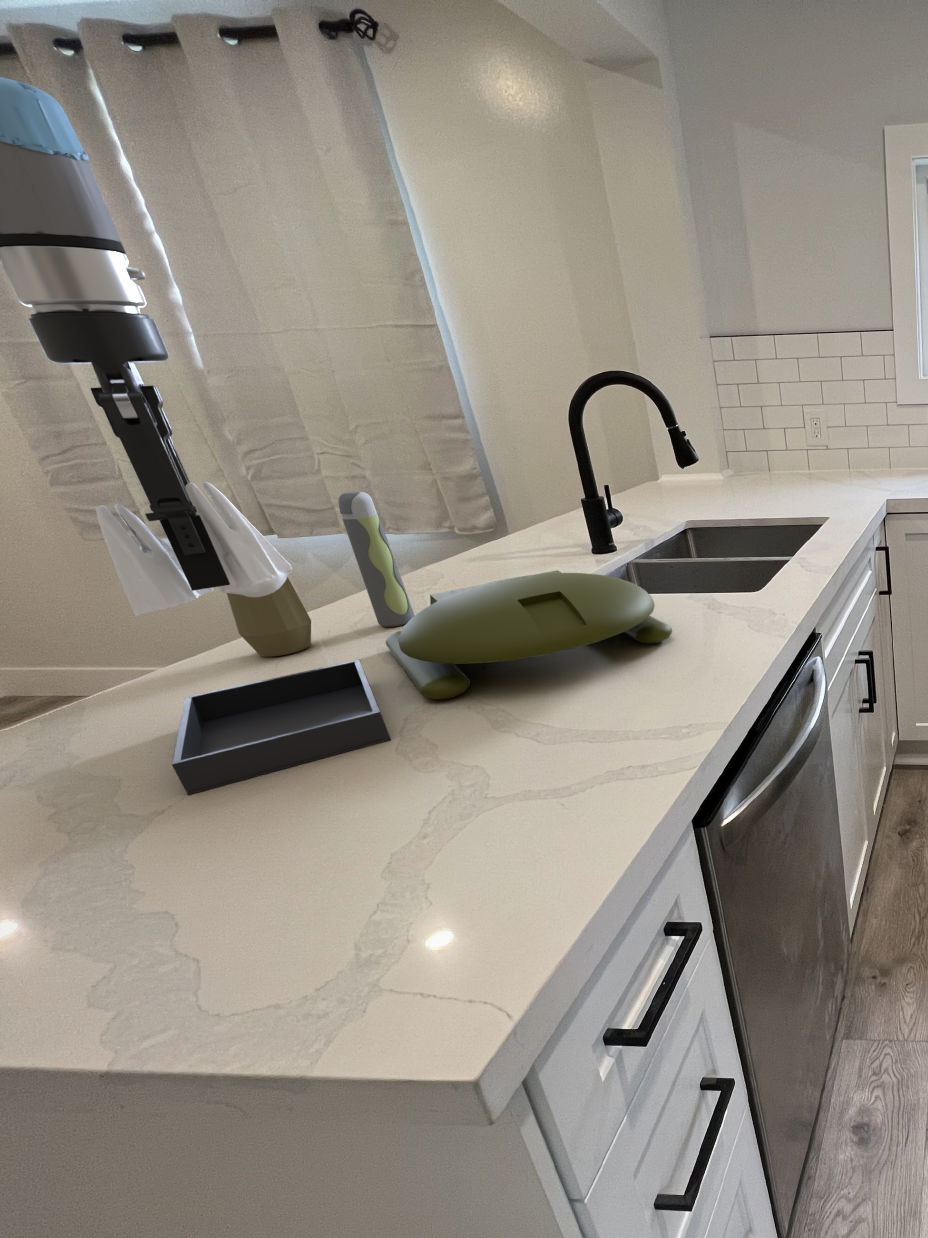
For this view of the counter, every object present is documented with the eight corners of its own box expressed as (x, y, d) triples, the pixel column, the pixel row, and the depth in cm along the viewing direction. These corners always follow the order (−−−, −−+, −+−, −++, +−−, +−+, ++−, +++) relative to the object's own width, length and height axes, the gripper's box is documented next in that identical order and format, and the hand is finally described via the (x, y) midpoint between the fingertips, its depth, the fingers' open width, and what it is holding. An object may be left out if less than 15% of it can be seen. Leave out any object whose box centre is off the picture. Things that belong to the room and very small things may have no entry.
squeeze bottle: (234, 660, 105) (174, 530, 97) (288, 640, 112) (237, 518, 105) (283, 661, 104) (226, 530, 96) (334, 641, 111) (286, 518, 103)
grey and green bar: (423, 620, 119) (379, 490, 111) (392, 629, 115) (344, 495, 107) (403, 617, 121) (359, 489, 113) (372, 626, 117) (323, 494, 109)
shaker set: (301, 585, 78) (256, 475, 74) (293, 595, 75) (246, 480, 70) (147, 605, 73) (89, 488, 68) (132, 617, 70) (70, 495, 65)
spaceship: (385, 648, 107) (361, 581, 103) (603, 600, 126) (590, 541, 122) (440, 724, 83) (410, 641, 79) (699, 651, 102) (686, 580, 98)
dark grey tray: (198, 723, 86) (185, 697, 85) (368, 683, 95) (359, 659, 94) (187, 795, 71) (171, 764, 70) (390, 739, 80) (380, 711, 79)
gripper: (142, 304, 59) (263, 591, 69) (158, 317, 72) (259, 559, 82) (1, 303, 55) (152, 609, 65) (44, 317, 67) (165, 573, 77)
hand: (211, 581), depth 73 cm, fingers closed on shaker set, 5 cm apart
